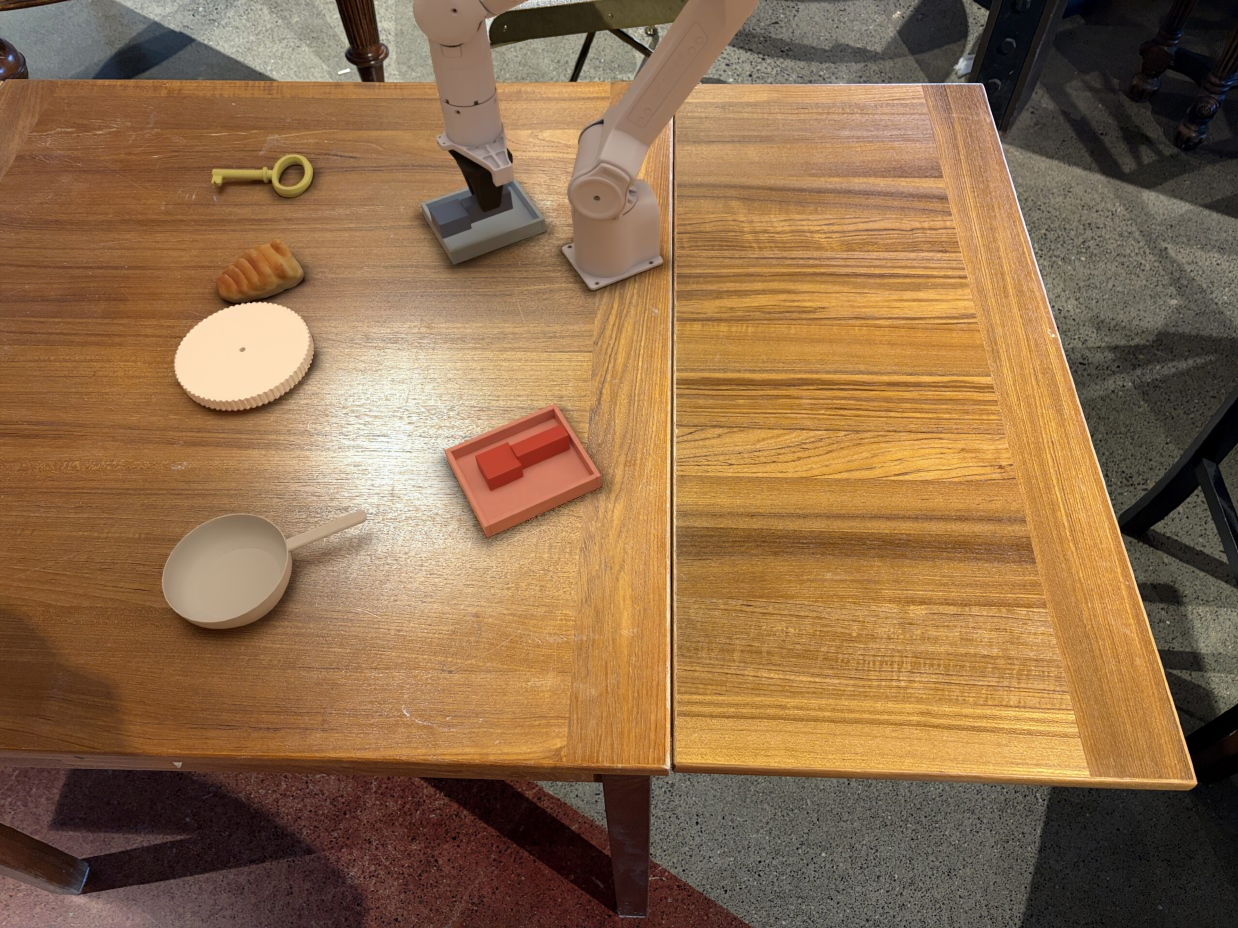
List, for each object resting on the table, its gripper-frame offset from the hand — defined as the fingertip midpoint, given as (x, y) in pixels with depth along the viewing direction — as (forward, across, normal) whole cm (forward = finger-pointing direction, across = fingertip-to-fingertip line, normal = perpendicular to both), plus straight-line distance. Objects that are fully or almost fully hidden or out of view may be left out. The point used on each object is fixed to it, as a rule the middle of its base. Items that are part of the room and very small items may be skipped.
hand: (487, 202), depth 99 cm
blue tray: (+7, -6, +1) cm, 9 cm away
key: (+8, -27, -20) cm, 34 cm away
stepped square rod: (+1, 0, -2) cm, 2 cm away
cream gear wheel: (+8, +3, -30) cm, 31 cm away
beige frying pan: (+8, +29, -34) cm, 46 cm away
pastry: (+8, -9, -25) cm, 28 cm away
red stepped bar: (+7, +29, -10) cm, 32 cm away
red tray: (+7, +30, -10) cm, 33 cm away
